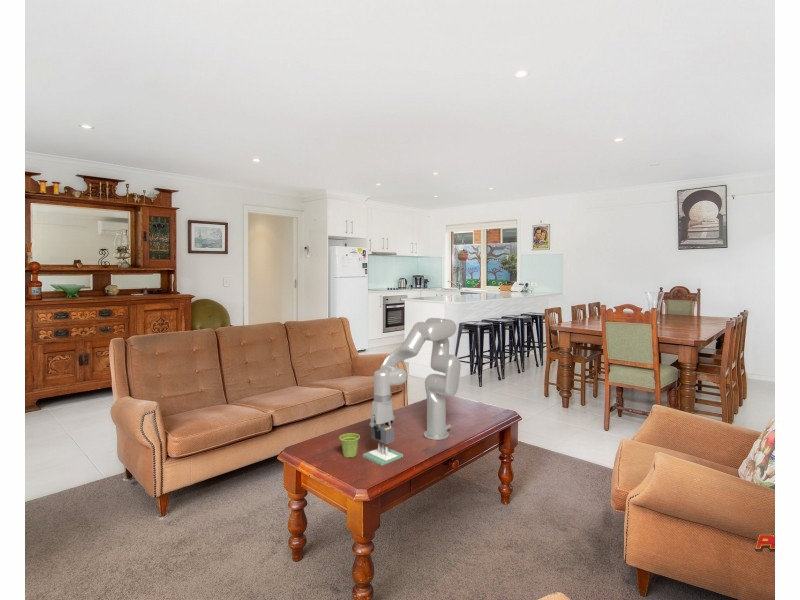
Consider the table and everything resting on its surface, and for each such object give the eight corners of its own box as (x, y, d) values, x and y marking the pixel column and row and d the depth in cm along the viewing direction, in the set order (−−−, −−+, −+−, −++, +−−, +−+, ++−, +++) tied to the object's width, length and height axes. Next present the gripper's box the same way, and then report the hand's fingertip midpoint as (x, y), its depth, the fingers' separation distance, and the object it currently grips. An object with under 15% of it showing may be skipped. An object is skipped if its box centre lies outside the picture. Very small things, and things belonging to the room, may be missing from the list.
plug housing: (379, 435, 211) (379, 422, 211) (394, 441, 204) (394, 427, 204) (371, 438, 208) (371, 424, 207) (386, 444, 201) (385, 430, 200)
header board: (383, 448, 216) (383, 437, 215) (403, 456, 207) (403, 445, 206) (362, 456, 207) (362, 445, 206) (381, 465, 198) (381, 453, 197)
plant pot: (335, 456, 207) (334, 438, 207) (348, 449, 215) (348, 431, 215) (351, 461, 202) (350, 442, 202) (364, 453, 210) (364, 435, 209)
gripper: (390, 392, 213) (390, 430, 215) (362, 400, 201) (362, 440, 203) (401, 395, 208) (401, 434, 209) (373, 403, 196) (373, 444, 197)
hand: (382, 436), depth 206 cm, fingers closed on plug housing, 5 cm apart
